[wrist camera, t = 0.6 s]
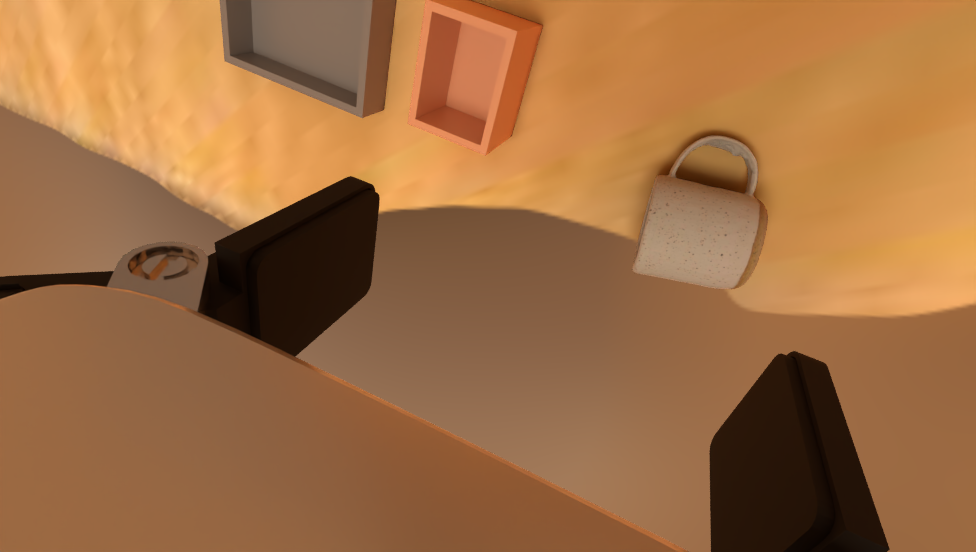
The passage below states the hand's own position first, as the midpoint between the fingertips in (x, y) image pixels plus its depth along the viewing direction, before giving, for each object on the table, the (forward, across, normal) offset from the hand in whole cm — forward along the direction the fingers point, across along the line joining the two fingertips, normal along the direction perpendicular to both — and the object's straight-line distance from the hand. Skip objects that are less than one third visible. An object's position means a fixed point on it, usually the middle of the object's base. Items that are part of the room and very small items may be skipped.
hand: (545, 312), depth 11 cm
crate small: (+31, +14, +2) cm, 34 cm away
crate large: (+32, +30, +1) cm, 44 cm away
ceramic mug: (+32, -6, +6) cm, 33 cm away
